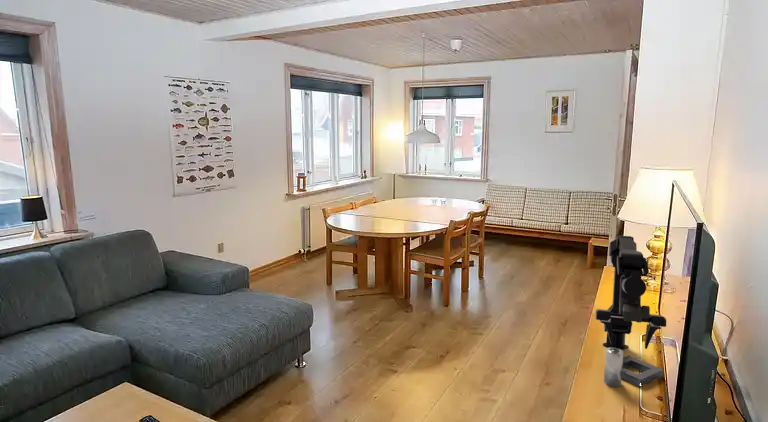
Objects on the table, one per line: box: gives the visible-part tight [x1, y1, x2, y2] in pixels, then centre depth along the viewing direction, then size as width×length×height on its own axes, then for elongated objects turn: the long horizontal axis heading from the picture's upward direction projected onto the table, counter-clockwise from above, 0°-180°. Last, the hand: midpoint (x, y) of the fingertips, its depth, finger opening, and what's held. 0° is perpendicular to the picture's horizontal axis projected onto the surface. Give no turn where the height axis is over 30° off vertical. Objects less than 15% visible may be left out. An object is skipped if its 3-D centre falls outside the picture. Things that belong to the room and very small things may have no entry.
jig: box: [622, 355, 664, 387], centre depth 160 cm, size 12×12×2 cm
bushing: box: [603, 347, 624, 388], centre depth 154 cm, size 5×5×11 cm
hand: (628, 346), depth 146 cm, fingers open, 9 cm apart
